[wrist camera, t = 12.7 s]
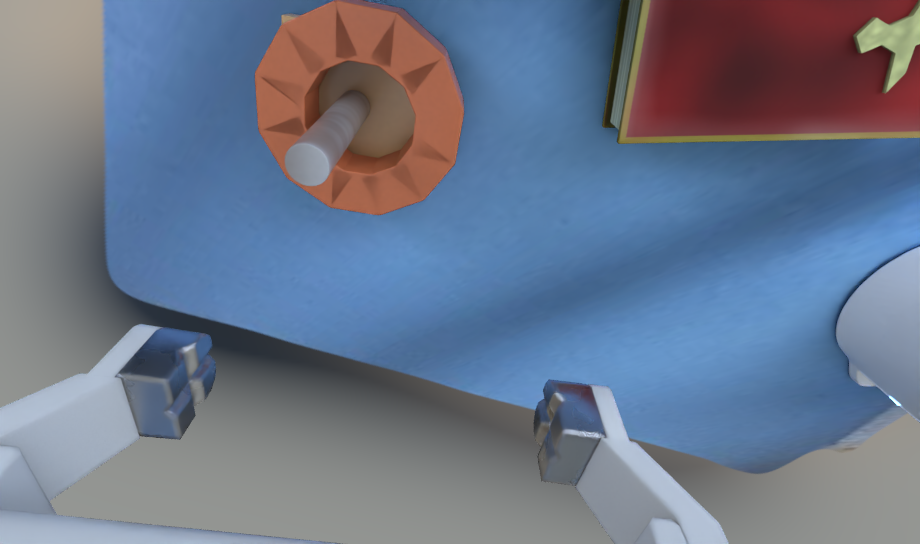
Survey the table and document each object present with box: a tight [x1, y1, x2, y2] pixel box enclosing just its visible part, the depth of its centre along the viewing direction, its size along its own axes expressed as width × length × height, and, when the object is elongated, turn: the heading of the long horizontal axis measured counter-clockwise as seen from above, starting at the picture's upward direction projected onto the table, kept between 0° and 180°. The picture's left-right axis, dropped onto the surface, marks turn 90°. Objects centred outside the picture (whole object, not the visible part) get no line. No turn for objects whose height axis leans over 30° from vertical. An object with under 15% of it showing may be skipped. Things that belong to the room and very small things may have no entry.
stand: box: [282, 13, 415, 186], centre depth 26 cm, size 9×9×12 cm
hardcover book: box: [602, 0, 920, 144], centre depth 27 cm, size 12×21×4 cm, turn 91°
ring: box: [255, 0, 464, 215], centre depth 28 cm, size 12×12×3 cm
